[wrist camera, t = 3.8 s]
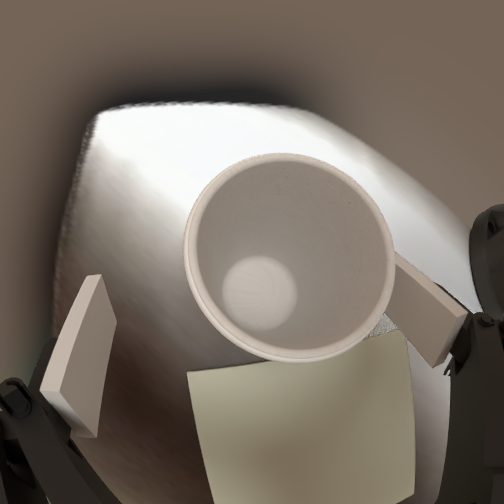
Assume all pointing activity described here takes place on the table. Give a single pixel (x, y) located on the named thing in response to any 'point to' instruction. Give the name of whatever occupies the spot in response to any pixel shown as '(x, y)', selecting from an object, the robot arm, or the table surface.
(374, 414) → the sage mat
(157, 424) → the table surface
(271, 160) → the dixie cup
